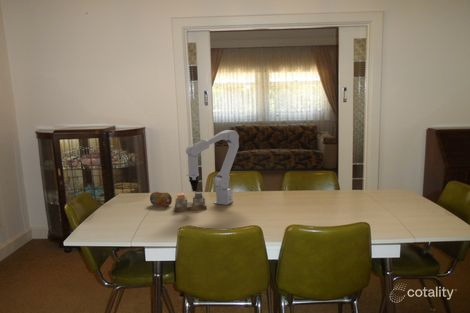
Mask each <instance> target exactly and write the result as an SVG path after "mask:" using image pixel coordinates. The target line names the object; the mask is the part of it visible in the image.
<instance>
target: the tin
mask: <svg viewBox="0 0 470 313" xmlns="http://www.w3.org/2000/svg"><path fill="white" fill-rule="evenodd" d="M149 200H150V203H151V205H152V206H155V207H164V208H166V207H169V206H170V205H172V202H173V198H172V195H171V194H170V193H169V192H166V191H165V192H164V191H163V192H162V191H153V192H151V194H150V196H149Z"/></svg>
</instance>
